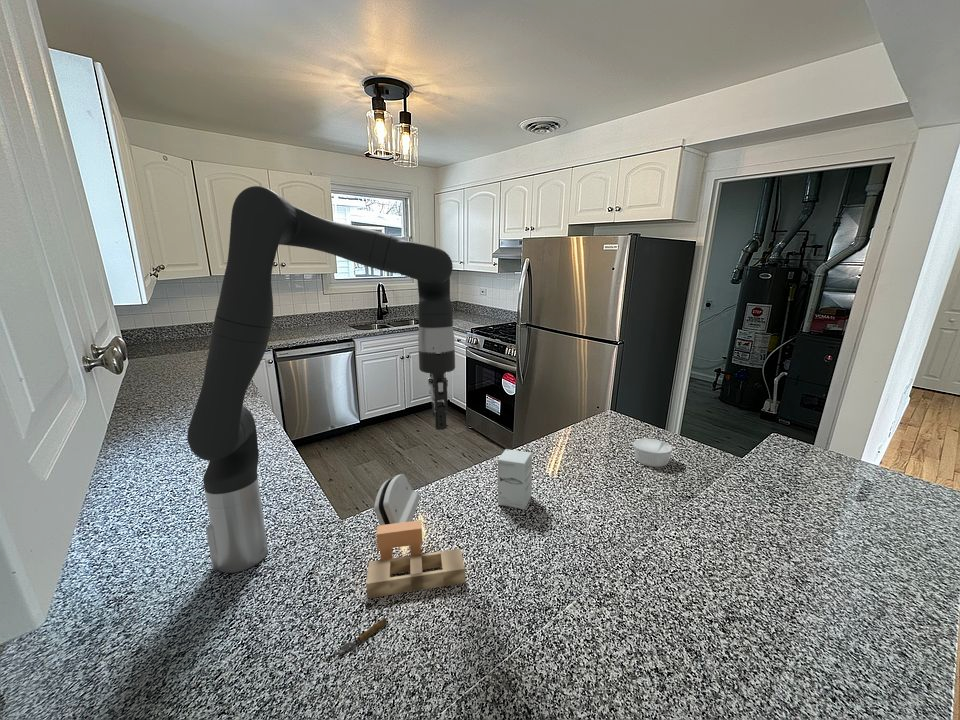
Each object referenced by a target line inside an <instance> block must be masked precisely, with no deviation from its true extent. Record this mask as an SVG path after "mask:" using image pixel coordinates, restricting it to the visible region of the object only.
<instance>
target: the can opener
mask: <svg viewBox="0 0 960 720" xmlns="http://www.w3.org/2000/svg"><path fill="white" fill-rule="evenodd" d="M387 624H388V620H387V619H386V617H383V618H381V619H380V620H379V621H377V622H376V623H374V624H373V625H372V626H371V627H370V628H368V629H367V630H366V631H364V632H363V633H362V634H361V635H359V636H358V637H357V638H356V639H355V641H353V642H351V641H349V642H346V643H345V644H343V645H341V647H339V648H341V649H340V650H338V649H337V650H338V652H336V651H335V653H334V654H333V656H334V655H335V656H336V655H337V654H338V656H339V657H341V654H342V653H343V652H345V654H347V653H348V651H349V652H350V653H351V652H354V651H355V650H356V649H357V645H360V644H362V643H364V642H365V641H366V640H367V639H369V638H370V637H371V636H373V635H374V634H376V633H377V632H379V631H380V630H382V629H383V628H384V627H385V626H386V625H387Z"/></svg>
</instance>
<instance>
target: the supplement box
mask: <svg viewBox="0 0 960 720" xmlns="http://www.w3.org/2000/svg"><path fill="white" fill-rule="evenodd" d="M532 459H533V453H532V452H529V451H521V450H515V449H508V448H505V449H504V450H503V452H502V453H501V454H500V456H499V457H498V458H497V505H498V506H503V507H504V506H506V507H511V508H516V509H520V510H525V509H526V508H527V506H528V505H529V504H528V503H530V502H529V501H530V500H531V498H532V490H533V489H532V487H533V485H532V484H533V482H532V481H533V478H532V477H533V476H532V475H533V473H532V472H533V460H532Z"/></svg>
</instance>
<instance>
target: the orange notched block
mask: <svg viewBox="0 0 960 720" xmlns="http://www.w3.org/2000/svg"><path fill="white" fill-rule="evenodd" d="M422 525H423V523H422V519H419V520H412V521H410V522H402V523H394V524H386V525H380V524H379V525H377V527H376V544H377V545H376V546H377V550H378V551H379V555H380V560H384V559H390V558H393V556H392V555H394V554H393V552H394V551H393V549H394V548H402V547H409V548H410V549H409V552H410V556H411V555H418V554H422V545H423V544H424V543H423V541H424V540H423V526H422Z"/></svg>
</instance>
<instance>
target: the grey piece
mask: <svg viewBox="0 0 960 720" xmlns="http://www.w3.org/2000/svg"><path fill="white" fill-rule="evenodd" d="M414 491H415V490H413V487H412V486H411V484H410V482H409V480H408V478H407V477H406V475H405V474H404V473H400V474H397V475H395V476H392V477H390V478H389V479H386V481H384V482H383V483H382V484H381V485H380V488H379V490H378V492H377V494H376V497H375V501H374V507H373V508H374V513H375V515H376V517H377V518H376V519H377V521H378V522H379V525H386V524H394V523H402V522H410V521H413V518H414V515H415V514H414V513H416V511H417V509H418V506H419V504H418V502H419V503H420V501H419V499H420V498H421V496H420V494H419V491H418V492H417V491H415V492H414ZM420 500H421V499H420ZM417 505H418V506H417ZM416 508H417V509H416ZM415 510H416V511H415Z"/></svg>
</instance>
